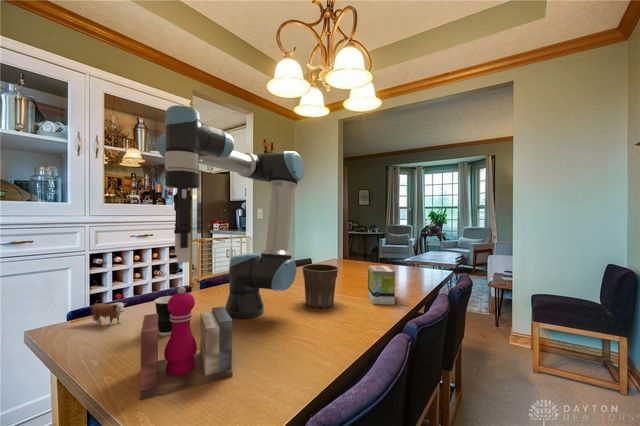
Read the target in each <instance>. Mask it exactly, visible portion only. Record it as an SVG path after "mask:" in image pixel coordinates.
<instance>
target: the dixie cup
mask: <svg viewBox="0 0 640 426" xmlns="http://www.w3.org/2000/svg"><path fill="white" fill-rule="evenodd" d="M172 296H173V295H167V296H161V297H158V298H156V299H154V303H155V312H156V313H155V314H157V313H158V334H159V335H160V336H171V332H172V322H171V321H170V314H171V312H170V311H169V310H168V301H169V299H170V298H171V297H172Z"/></svg>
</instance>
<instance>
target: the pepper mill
mask: <svg viewBox="0 0 640 426" xmlns="http://www.w3.org/2000/svg"><path fill="white" fill-rule="evenodd" d="M171 296H172V297H171V298H170V299H169V301H168V310H169V311H170V312H171V314H170V321H171V322H172V332H171V335H169V338H168V341H167V343H166V345H165V348H164V352H163V355H164V359H166V360H167V361H168V363H167V364H166V372H167V374H169V375H174V376H175V375H182V374H185V373H188V372H190V371H191V370H192V369H193V368H194V366H195V359H194V357H193V356H194V355H195V354H196V353H198V352H197V351H198V346H197V341H196V339H195V337H194V334H193V332H192V329H191V319H192V318H193V311H192V310H193V309H194V307H195V305H196V304H195V302H196V300H195V297H194V296H193V294H191V293H188V292H187V291H186V288H185V286H180V287H178V288H177V293H175V294H173V295H171Z"/></svg>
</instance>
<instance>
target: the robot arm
mask: <svg viewBox="0 0 640 426" xmlns="http://www.w3.org/2000/svg"><path fill="white" fill-rule="evenodd" d="M165 111H166V112H165V122H164V126H165V133H164V134H161V135H160V136H159V137H158V139H157V141H156V148H157V151H158V153H159V155H160V156H161V157H163V158H164V168H165V169H166V170H167V171H165V173H164V185H165V186H166V187H167V188H170V189H176V192H175V194H173V197H172V199H173V200H172V201H173V205H174V206H173V208H174V209H173V210H174V211H175V220H174V221H175V223H174V229H173V230H174V231H173V234H174V240H175V241H174V255H175V256H176V264H182V263H183V264H184V263H185V264H187V263H191V231H192V221H191V220H192V219H191V218H192V217H191V211H192V210H191V209H192V201H193V196H192V193H191V191H192V189H193V190H194V189H199V187H200V174H199V171H200V165H204V166H209V167H211V168H212V167H213V168H215V169H222V170H225V171H229V172H233V173H237V174H238V175H239V176H241V177H244V178H248V179H251V180H255V181H259V182H265V183H266V182H267V184H268V185H269V186H270V189H271V192H270V200H269V212H268V221H267V232H266V243H265V248H264V250H263V251H262V252H261V253H259V252H253V253H252V252H251V253H243V254H237V255H233V256H232V257H231V258H230V260H229V266H228V270H229V271H228V273H229V274H228V276H229V277H228V278H229V281H228V282H229V283H228V284H229V285H228V288H229V293H228V297H227V300H226V302H225V303H226V304H225V306H224V308H225V310H226V311H227V313H228V314H229V316H230V317H231V319H237V320H238V319H240V320H244V319H252V318H255V317H258V316H261V315H262V314H263V313H264V312H265V307H264V302H263V301H264V300H263V298H262V295H261V291H260V289H263V290H270V291H275V292H277V291H281V292H282V291H286V290H288V289H289V288H291V286H292V285H293V284H294V281H295V279H296V276H297V266H296V265H297V264H296V261H295V260H294V259H292V253H291V252H290V251H289V245H290V243H289V242H290V231H291V219H292V211H293V210H292V209H293V208H292V207H293V197H294V190H295V189H296V188H297V187H298V183H299V182H301V181H303V179H304V177H305V165H304V161H303V160H302V157H301V155H300V154H299V153H297V152H296V151H291V150H290V151H288V150H285V151H277V152H266V153H250V152H243V153H242V152H238V151H237V150H234V149H235V141H234V138H233V136H231V134H229V133H227V132H226V131H224V130H223V129H218V128H217V127H214V126H211V125H208V124H205V123H204V122H201V117H200V113H199V111H198V110H197V109H196V108H194V107H191V106H187V105H181V104H180V105H178V104H177V105H172V106H169V107H168V108H167V109H166V110H165Z"/></svg>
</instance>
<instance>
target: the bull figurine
mask: <svg viewBox="0 0 640 426" xmlns="http://www.w3.org/2000/svg"><path fill="white" fill-rule="evenodd" d="M126 305H128V303H127V302H124V303H123V302H118V301H117V302H115V303H94V304H93V305H92V306H91V318H92V320H93V322H95V321H96V325H97V326H99V327H100V326H101V325H102V323H103V321H102V319H101V318H102V317H103V318H104V319H107V318H108V317H109V323H108V325H109V326H110V327H112V326H114V325H113V320H115V319H116V321H117V324H118V325H122V321H121V319H120V318H121V317H120V316H121V314H122V313H123V312H125V309H124V308H125V307H124V306H126Z"/></svg>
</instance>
